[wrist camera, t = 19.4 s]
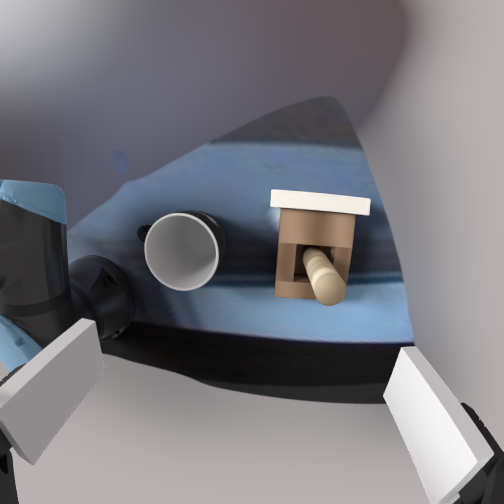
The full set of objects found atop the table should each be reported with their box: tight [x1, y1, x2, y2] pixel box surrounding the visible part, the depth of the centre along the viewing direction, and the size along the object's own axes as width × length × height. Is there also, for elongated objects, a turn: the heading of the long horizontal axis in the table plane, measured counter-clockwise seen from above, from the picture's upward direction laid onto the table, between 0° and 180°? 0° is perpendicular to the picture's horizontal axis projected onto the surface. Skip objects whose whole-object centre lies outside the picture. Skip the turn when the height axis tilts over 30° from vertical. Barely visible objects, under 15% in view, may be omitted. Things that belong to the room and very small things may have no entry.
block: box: [275, 207, 356, 301], centre depth 37 cm, size 9×11×4 cm
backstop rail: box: [271, 189, 370, 215], centre depth 35 cm, size 12×2×6 cm, turn 87°
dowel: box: [301, 245, 346, 306], centre depth 32 cm, size 3×3×14 cm
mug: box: [137, 211, 226, 291], centre depth 35 cm, size 12×9×10 cm
